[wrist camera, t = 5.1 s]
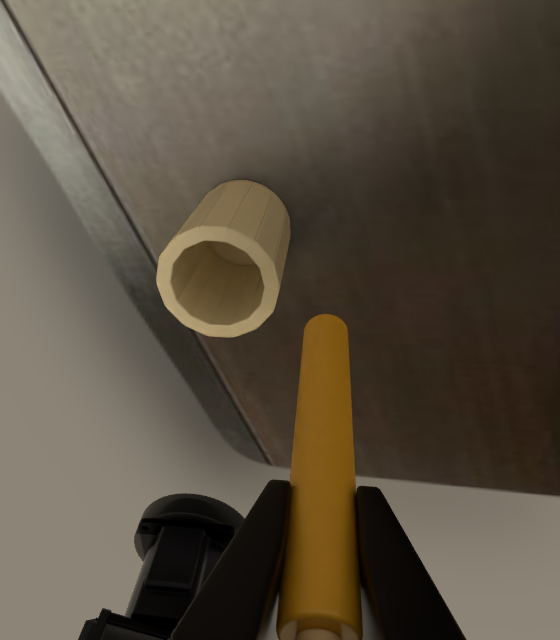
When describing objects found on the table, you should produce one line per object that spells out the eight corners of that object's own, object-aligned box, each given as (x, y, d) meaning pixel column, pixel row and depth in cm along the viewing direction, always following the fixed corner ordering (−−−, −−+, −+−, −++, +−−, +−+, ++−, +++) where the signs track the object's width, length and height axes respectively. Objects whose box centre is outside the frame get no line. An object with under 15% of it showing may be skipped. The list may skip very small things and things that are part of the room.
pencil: (346, 350, 15) (362, 739, 7) (303, 348, 15) (268, 728, 7) (349, 313, 14) (371, 694, 6) (304, 311, 14) (267, 683, 6)
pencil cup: (290, 272, 21) (279, 340, 17) (199, 268, 22) (162, 334, 17) (293, 181, 19) (280, 229, 15) (192, 177, 20) (147, 223, 15)
